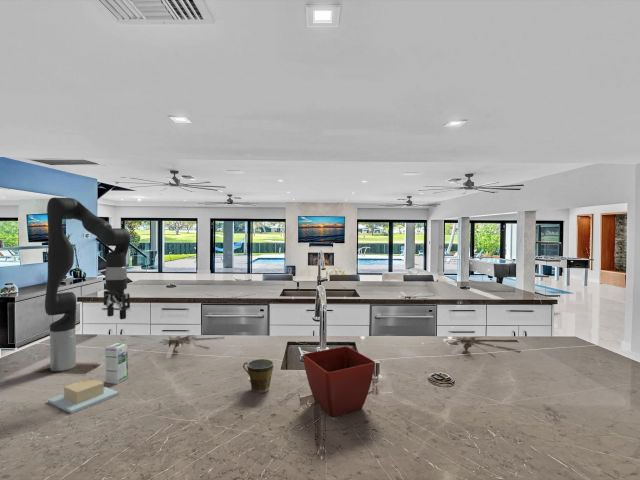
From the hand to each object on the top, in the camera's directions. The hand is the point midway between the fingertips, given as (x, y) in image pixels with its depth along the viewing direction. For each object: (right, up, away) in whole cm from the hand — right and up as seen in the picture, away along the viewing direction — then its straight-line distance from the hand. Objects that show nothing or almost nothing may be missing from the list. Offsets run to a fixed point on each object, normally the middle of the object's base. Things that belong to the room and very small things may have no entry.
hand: (116, 317), depth 145 cm
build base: (-3, -26, -15) cm, 30 cm away
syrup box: (0, -26, +1) cm, 26 cm away
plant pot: (+89, -27, -19) cm, 95 cm away
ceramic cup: (+58, -26, -6) cm, 64 cm away
